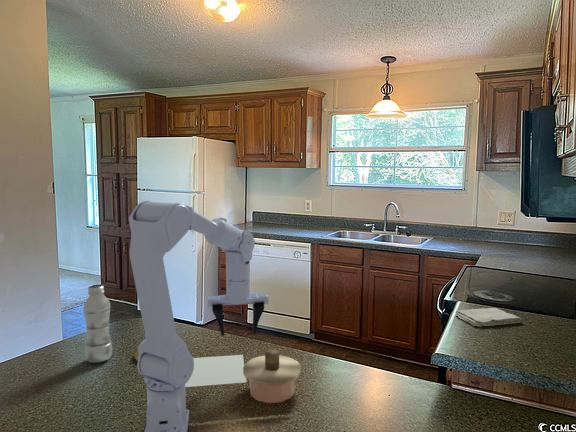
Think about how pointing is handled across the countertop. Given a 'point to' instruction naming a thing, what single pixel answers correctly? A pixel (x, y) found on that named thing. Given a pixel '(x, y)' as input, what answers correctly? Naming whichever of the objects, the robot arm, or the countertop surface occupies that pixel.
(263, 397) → the bowl
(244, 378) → the mat
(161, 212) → the robot arm
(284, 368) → the lid
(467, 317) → the washcloth
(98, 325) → the plastic bottle
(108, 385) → the countertop surface
